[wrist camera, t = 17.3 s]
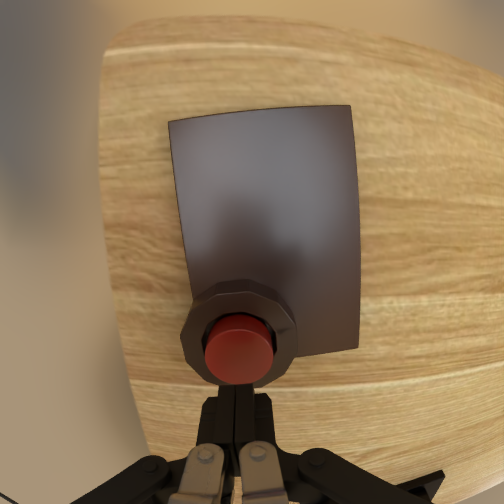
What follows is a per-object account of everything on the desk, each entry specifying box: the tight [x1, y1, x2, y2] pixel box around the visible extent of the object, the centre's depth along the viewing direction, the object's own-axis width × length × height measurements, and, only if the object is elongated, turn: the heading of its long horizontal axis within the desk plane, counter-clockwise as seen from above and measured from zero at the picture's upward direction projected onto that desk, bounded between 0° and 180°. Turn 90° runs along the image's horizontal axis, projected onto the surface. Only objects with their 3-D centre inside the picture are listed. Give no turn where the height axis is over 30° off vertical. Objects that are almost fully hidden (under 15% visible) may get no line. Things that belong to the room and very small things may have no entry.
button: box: [205, 314, 273, 384], centre depth 17 cm, size 4×4×2 cm
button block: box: [168, 105, 361, 388], centre depth 18 cm, size 11×16×2 cm
